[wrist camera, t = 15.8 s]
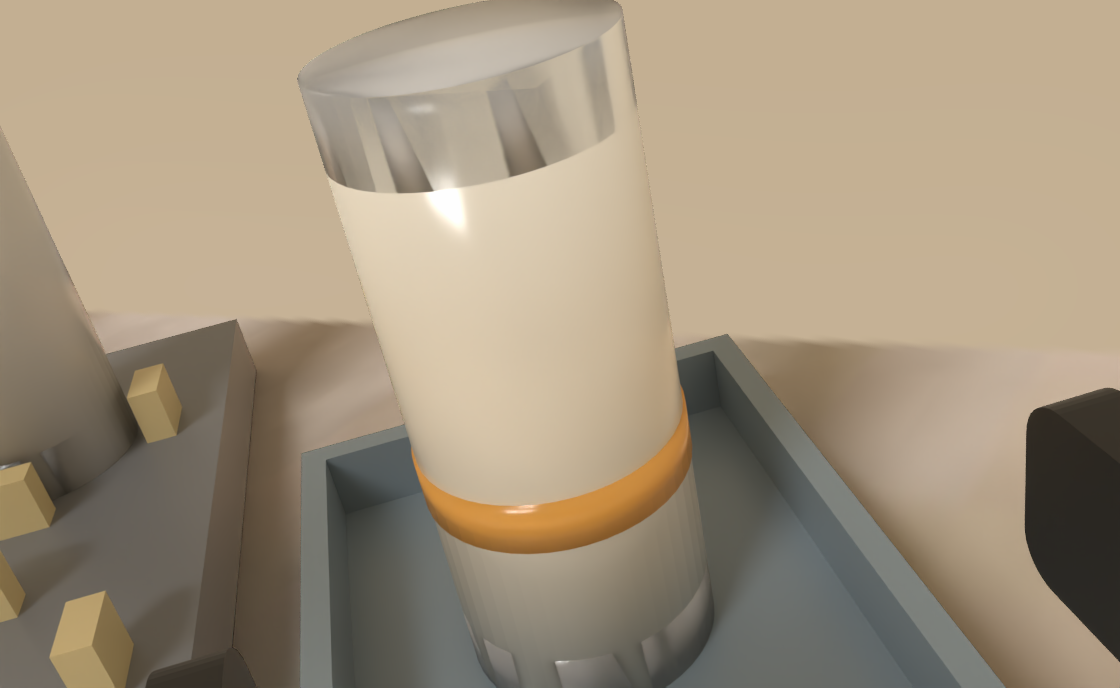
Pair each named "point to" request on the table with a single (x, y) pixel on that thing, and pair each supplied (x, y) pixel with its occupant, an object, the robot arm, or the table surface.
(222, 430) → the block
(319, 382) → the table surface
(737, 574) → the tray
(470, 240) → the marked fuse
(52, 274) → the cylinder
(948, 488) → the table surface
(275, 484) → the table surface
